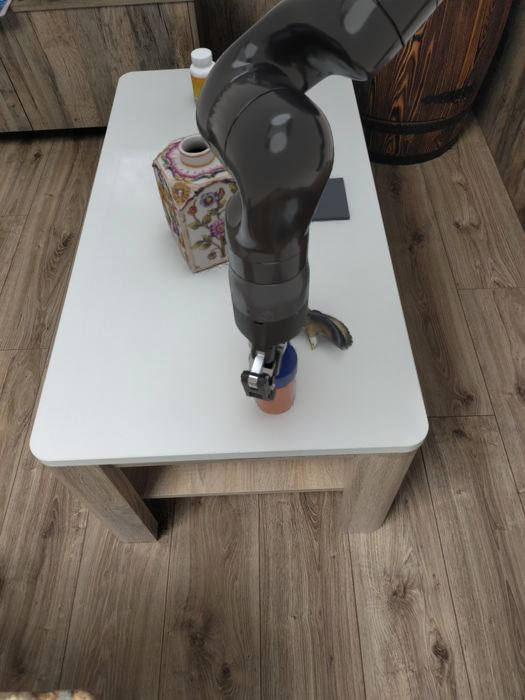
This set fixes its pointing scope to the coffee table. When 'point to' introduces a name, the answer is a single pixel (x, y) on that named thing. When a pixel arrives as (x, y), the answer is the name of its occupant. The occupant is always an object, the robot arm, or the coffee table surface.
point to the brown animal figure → (327, 329)
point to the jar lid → (286, 367)
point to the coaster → (333, 202)
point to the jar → (279, 400)
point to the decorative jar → (195, 199)
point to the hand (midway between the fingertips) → (273, 374)
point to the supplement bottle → (200, 69)
